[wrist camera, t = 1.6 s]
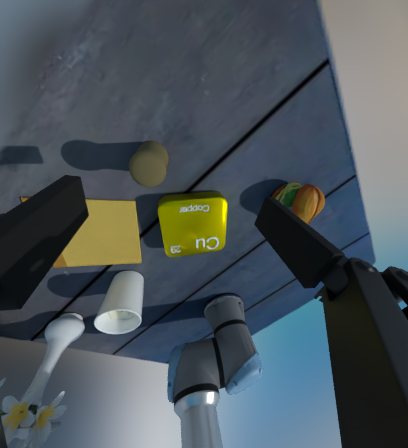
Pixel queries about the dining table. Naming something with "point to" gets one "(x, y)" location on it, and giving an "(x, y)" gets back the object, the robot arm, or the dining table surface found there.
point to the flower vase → (40, 389)
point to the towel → (104, 236)
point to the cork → (149, 164)
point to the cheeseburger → (301, 200)
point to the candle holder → (121, 304)
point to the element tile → (193, 222)
